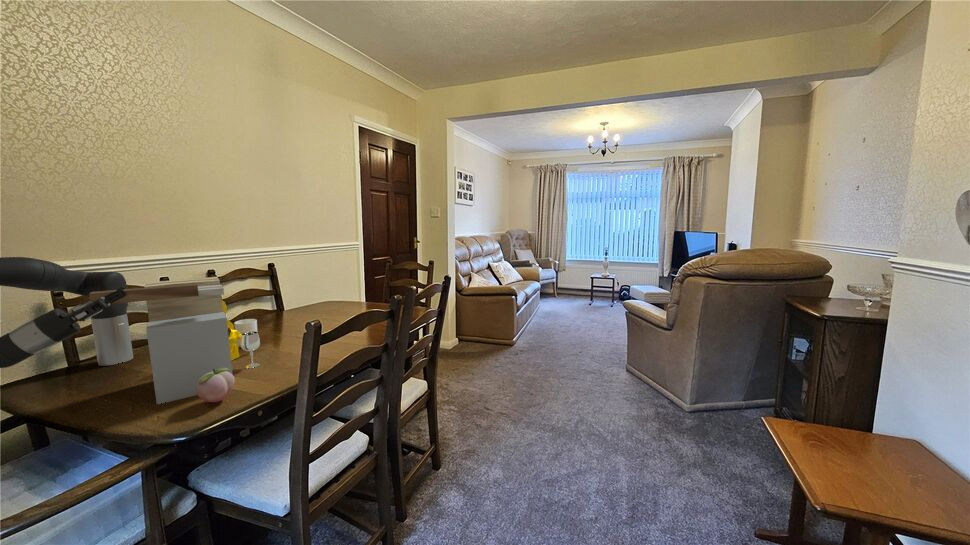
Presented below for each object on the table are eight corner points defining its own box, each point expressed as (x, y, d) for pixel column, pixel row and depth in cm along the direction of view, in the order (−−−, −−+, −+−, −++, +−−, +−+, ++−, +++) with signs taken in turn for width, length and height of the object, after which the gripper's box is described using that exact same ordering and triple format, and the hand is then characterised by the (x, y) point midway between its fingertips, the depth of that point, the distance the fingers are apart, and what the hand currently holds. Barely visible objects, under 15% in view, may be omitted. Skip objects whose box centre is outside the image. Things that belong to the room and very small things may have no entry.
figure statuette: (205, 369, 128) (198, 307, 124) (195, 364, 132) (187, 305, 128) (258, 353, 143) (253, 298, 140) (247, 349, 147) (242, 295, 144)
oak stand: (159, 379, 120) (146, 282, 115) (226, 365, 131) (217, 276, 127) (158, 389, 112) (144, 286, 108) (229, 373, 124) (219, 280, 119)
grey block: (158, 393, 110) (148, 322, 107) (230, 376, 121) (223, 312, 118) (156, 404, 103) (146, 328, 100) (233, 386, 114) (226, 317, 111)
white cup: (248, 348, 148) (245, 324, 147) (231, 347, 150) (229, 323, 148) (263, 342, 156) (261, 319, 154) (247, 341, 157) (245, 318, 156)
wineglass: (239, 367, 129) (235, 334, 127) (254, 362, 134) (251, 330, 132) (250, 370, 126) (247, 336, 125) (265, 364, 132) (262, 331, 130)
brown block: (94, 302, 99) (93, 290, 99) (221, 290, 117) (220, 281, 116) (89, 307, 93) (87, 295, 92) (224, 294, 111) (223, 284, 110)
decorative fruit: (214, 394, 109) (211, 362, 108) (241, 394, 109) (238, 362, 107) (188, 410, 100) (184, 375, 98) (218, 410, 100) (214, 375, 98)
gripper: (23, 325, 84) (110, 282, 93) (40, 314, 95) (117, 276, 103) (52, 349, 88) (133, 305, 96) (66, 335, 98) (138, 297, 107)
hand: (124, 290), depth 100 cm, fingers closed on brown block, 3 cm apart
